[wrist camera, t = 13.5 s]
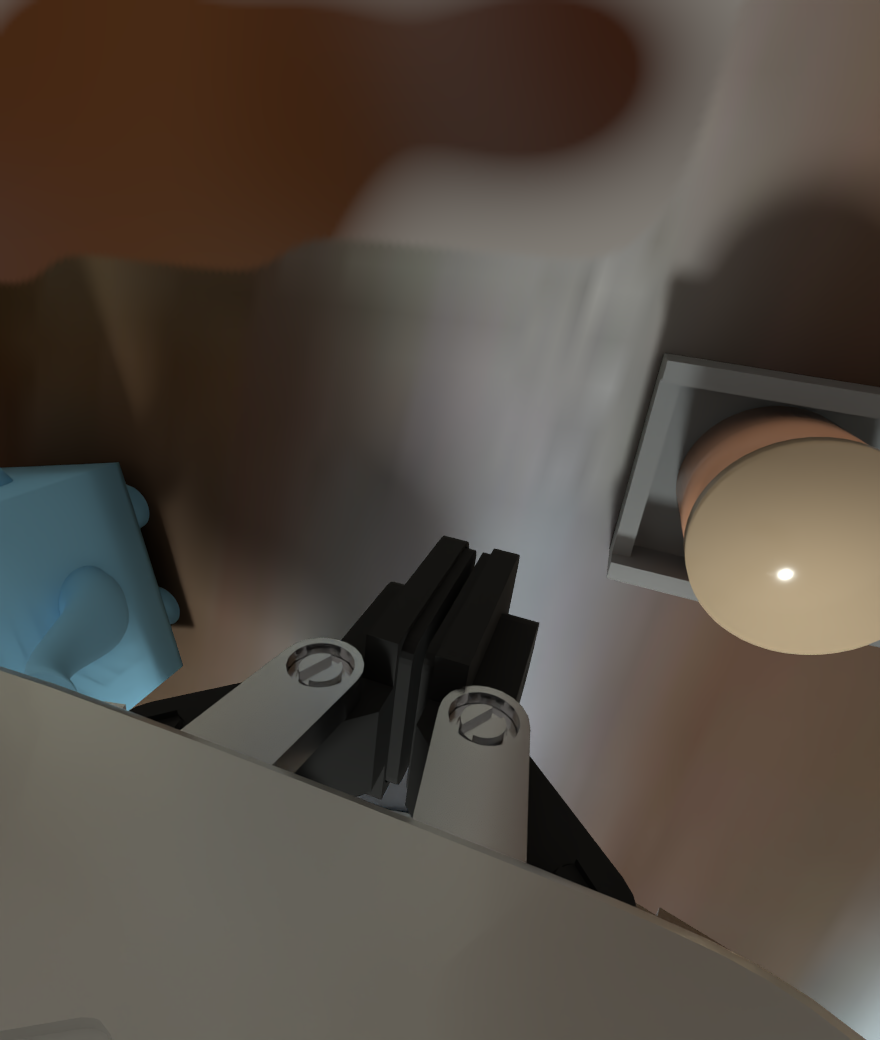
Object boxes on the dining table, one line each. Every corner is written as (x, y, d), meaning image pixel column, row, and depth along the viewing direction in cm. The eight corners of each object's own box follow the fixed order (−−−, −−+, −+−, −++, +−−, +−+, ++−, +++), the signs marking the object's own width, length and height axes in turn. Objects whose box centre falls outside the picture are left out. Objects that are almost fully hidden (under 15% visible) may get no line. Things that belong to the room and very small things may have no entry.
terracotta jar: (654, 544, 26) (660, 621, 20) (700, 389, 23) (723, 424, 17) (826, 583, 25) (889, 680, 18) (898, 421, 22) (1003, 471, 16)
